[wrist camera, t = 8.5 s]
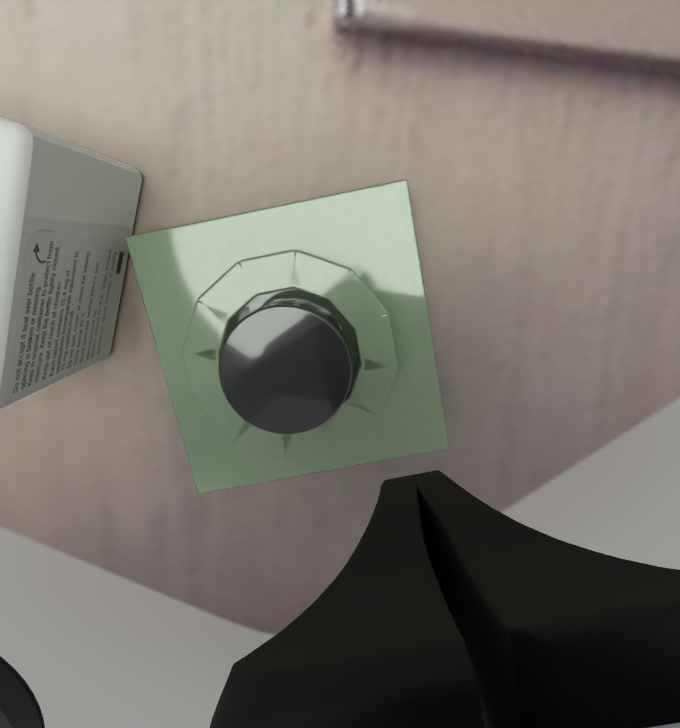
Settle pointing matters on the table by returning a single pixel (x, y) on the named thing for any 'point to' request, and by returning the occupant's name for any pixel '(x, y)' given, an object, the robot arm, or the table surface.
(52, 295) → the container
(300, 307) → the dark grey push button
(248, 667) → the robot arm
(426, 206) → the table surface
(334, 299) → the push button base
